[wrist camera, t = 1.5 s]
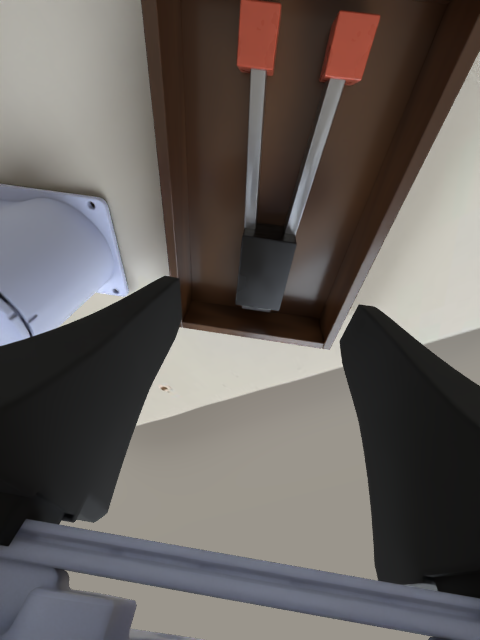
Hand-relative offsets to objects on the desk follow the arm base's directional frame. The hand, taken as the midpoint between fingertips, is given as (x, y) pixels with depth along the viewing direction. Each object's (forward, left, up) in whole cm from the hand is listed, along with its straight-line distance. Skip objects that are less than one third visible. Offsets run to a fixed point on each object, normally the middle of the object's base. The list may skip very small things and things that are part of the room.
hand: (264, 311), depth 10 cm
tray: (0, +2, -9) cm, 9 cm away
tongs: (0, +2, -8) cm, 9 cm away
